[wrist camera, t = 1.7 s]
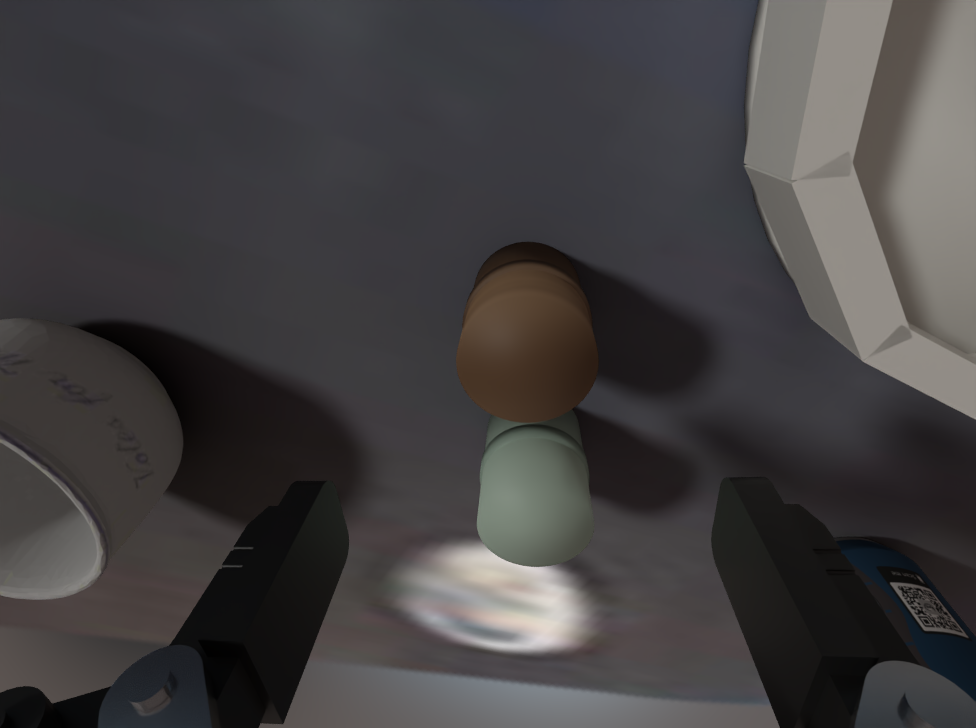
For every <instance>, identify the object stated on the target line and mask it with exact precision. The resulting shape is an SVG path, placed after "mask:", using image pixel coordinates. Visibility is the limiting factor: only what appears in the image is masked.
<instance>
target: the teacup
mask: <svg viewBox="0 0 976 728" xmlns="http://www.w3.org/2000/svg"><path fill="white" fill-rule="evenodd" d="M182 451H183V433H182V428H181V423H180V419H179V417H178V414H177V411H176V409H175V407H174V405H173V403H172V401H171V400H170V398H169V396H168V394H167V392H166V390H165V388H164V387H163V385H162V384H161V382H160V381H159V379H158V378H157V377H156V376H155V375H154V374H153V372H152V371H151V370H150V369H149V368H148V367H147V366H146V365H145V364H143V363H142V362H141V361H140V360H139V359H137V358H136V357H135V356H134V355H132V354H131V353H129V352H128V351H126V350H125V349H123V348H122V347H120V346H118V345H116V344H114V343H112V342H110V341H108V340H106V339H103V338H101V337H98V336H96V335H93V334H91V333H88V332H86V331H83V330H81V329H79V328H75V327H72V326H69V325H65V324H62V323H57V322H52V321H48V320H40V319H27V318H14V319H3V320H0V595H2V596H6V597H12V598H19V599H35V600H44V599H56V598H62V597H65V596H69V595H73V594H76V593H78V592H80V591H82V590H84V589H86V588H88V587H89V586H91V585H92V584H93V583H94V582H95V581H96V580H97V579H98V578H99V577H100V576H101V575H102V574H103V572H104V570H105V569H106V567H107V565H108V562H109V560H110V559H111V558H112V557H113V555H114V554H115V553H116V552H117V551H118V550H119V548H120V547H121V546H122V545H123V544H124V543H125V541H126V540H127V539H128V538H129V537H130V535H131V534H132V533H133V532H134V531H135V529H136V528H137V527H138V526H139V525H140V523H141V522H142V521H143V520H144V518H145V517H146V516H147V515H148V513H149V512H150V511H151V510H152V508H153V507H154V506H155V504H156V503H157V502H158V500H159V499H160V498H161V496H162V495H163V493H164V492H165V491H166V489H167V488H168V486H169V485H170V483H171V481H172V479H173V478H174V476H175V474H176V472H177V469H178V467H179V464H180V461H181V457H182Z"/></svg>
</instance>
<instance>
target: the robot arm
mask: <svg viewBox="0 0 976 728" xmlns="http://www.w3.org/2000/svg"><path fill="white" fill-rule="evenodd" d="M711 541H712V551H713V556H714V560H715V564H716V567H717V569H718V572H719V574H720V577H721V579H722V582H723V584H724V587H725V590H726V592H727V595H728V597H729V600H730V602H731V605H732V607H733V610H734V612H735V615H736V617H737V620H738V622H739V625H740V628H741V630H742V633H743V635H744V638H745V640H746V643H747V645H748V648H749V650H750V653H751V655H752V658H753V660H754V663H755V666H756V668H757V671H758V673H759V676H760V678H761V681H762V683H763V686H764V688H765V691H766V693H767V696H768V698H769V701H770V704H771V706H772V709H773V711H774V714H775V716H776V719H777V721H778V724H779V726H780V728H976V702H975V701H974V700H973V699H972V698H971V697H970V696H969V695H968V694H967V693H966V692H964V691H963V690H962V689H961V688H959V687H958V686H957V685H955V684H954V683H952V682H951V681H949V680H948V679H946V678H945V677H943V676H941V675H939V674H938V673H936V672H934V671H932V670H929V669H927V668H925V667H922V666H921V665H920V664H919V662H918V661H917V660H916V658H915V657H914V656H913V654H912V653H911V651H910V650H909V648H908V647H907V645H906V644H905V642H904V641H903V639H902V638H901V637H900V635H899V634H898V632H897V631H896V629H895V628H894V626H893V625H892V623H891V622H890V620H889V619H888V617H887V616H886V614H885V613H884V612H883V610H882V609H881V607H880V606H879V604H878V603H877V601H876V600H875V598H874V597H873V595H872V594H871V592H870V591H869V590H868V588H867V587H866V585H865V584H864V582H863V581H862V579H861V578H860V576H859V575H856V574H855V569H854V567H853V566H852V565H851V563H850V562H849V560H848V559H847V557H846V556H845V554H842V553H841V548H840V547H839V545H838V544H837V542H836V541H835V540H834V538H833V537H832V535H831V534H830V532H829V531H828V529H827V528H826V526H825V525H824V524H823V523H822V522H820V521H819V520H818V519H817V518H815V517H814V516H813V515H812V514H810V513H809V512H808V511H807V510H805V509H804V508H803V507H802V506H800V505H799V504H784V503H783V501H782V499H781V498H780V496H779V494H778V493H777V491H776V490H775V488H774V486H773V485H772V483H771V482H770V481H769V480H768V479H767V478H765V477H734V478H724V479H723V480H722V482H721V485H720V491H719V496H718V501H717V507H716V512H715V518H714V523H713V528H712V537H711ZM348 549H349V535H348V530H347V526H346V523H345V519H344V516H343V512H342V509H341V505H340V502H339V498H338V495H337V491H336V488H335V485H334V484H333V482H331V481H296V482H294V483H293V484H292V485H291V486H290V487H289V489H288V491H287V492H286V494H285V496H284V497H283V499H282V501H281V502H280V504H279V506H269V507H268V508H266V509H265V510H264V511H263V512H262V513H261V514H259V515H258V516H257V517H256V518H255V519H254V520H253V521H251V522H250V523H249V524H248V525H247V527H246V528H245V530H244V531H243V533H242V534H241V536H240V538H239V539H238V541H237V542H236V544H235V545H234V550H233V551H231V552H230V553H229V555H228V556H227V558H226V559H225V561H224V562H223V564H222V569H219V570H218V572H217V573H216V575H215V576H214V578H213V579H212V581H211V583H210V584H209V586H208V587H207V589H206V590H205V592H204V593H203V595H202V597H201V598H200V600H199V601H198V603H197V604H196V606H195V607H194V609H193V610H192V612H191V614H190V615H189V617H188V618H187V620H186V621H185V623H184V624H183V626H182V628H181V629H180V631H179V632H178V634H177V635H176V637H175V638H174V640H173V641H172V643H171V644H170V645H169V646H167V647H164V648H160V649H158V650H156V651H154V652H151V653H150V654H147V655H146V656H144V657H142V658H141V659H139V660H138V661H137V662H135V663H134V664H132V665H131V666H130V667H129V668H128V669H126V670H125V671H124V672H123V673H122V674H121V675H120V676H119V677H118V679H117V680H116V681H115V682H114V684H113V685H112V686H111V687H108V688H104V689H101V690H98V691H94V692H91V693H87V694H84V695H81V696H77V697H74V698H70V699H67V700H64V701H60V702H57V703H53V704H52V703H51V702H50V700H49V699H48V698H47V697H46V696H45V695H44V694H43V692H42V691H40V690H39V689H38V688H35V687H29V686H24V687H17V688H13V689H9V690H6V691H4V692H1V693H0V728H259V725H260V723H269V724H283V723H284V721H285V718H286V716H287V713H288V710H289V708H290V705H291V703H292V700H293V697H294V695H295V692H296V690H297V687H298V684H299V682H300V679H301V677H302V674H303V672H304V669H305V666H306V664H307V661H308V659H309V656H310V653H311V651H312V648H313V646H314V643H315V640H316V638H317V635H318V633H319V630H320V627H321V625H322V622H323V620H324V617H325V615H326V612H327V609H328V607H329V604H330V602H331V599H332V596H333V594H334V591H335V589H336V586H337V583H338V581H339V578H340V576H341V573H342V570H343V568H344V565H345V563H346V559H347V555H348Z"/></svg>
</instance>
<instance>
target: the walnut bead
mask: <svg viewBox="0 0 976 728" xmlns="http://www.w3.org/2000/svg"><path fill="white" fill-rule="evenodd" d="M462 327H463V330H462V334H461V338H460V342H459V346H458V350H457V357H456V364H457V372H458V376H459V379H460V382H461V384H462V386H463V388H464V390H465V391H466V393H467V394H468V395H469V397H470V398H471V399H472V400H473V401H474V402H475V403H476V404H477V405H478V406H480V407H481V408H482V409H484V410H485V411H487V412H488V413H490V414H492V415H494V416H496V417H499V418H502V419H505V420H509V421H513V422H520V423H534V422H542V421H547V420H550V419H553V418H556V417H559V416H561V415H563V414H565V413H567V412H568V411H570V410H571V409H573V408H574V407H575V406H577V405H578V404H579V403H580V402H581V401H582V400H583V399H584V398H585V397H586V395H587V394H588V393H589V391H590V389H591V388H592V386H593V384H594V381H595V379H596V376H597V372H598V364H599V357H598V350H597V345H596V341H595V337H594V334H593V330H592V316H591V311H590V307H589V304H588V301H587V298H586V295H585V293H584V291H583V289H582V288H581V285H580V281H579V278H578V275H577V272H576V270H575V268H574V266H573V265H572V264H571V262H570V261H569V260H568V259H567V258H566V257H565V256H564V255H563V254H562V253H561V252H559V251H558V250H556V249H554V248H553V247H550V246H548V245H545V244H541V243H536V242H520V243H514V244H511V245H508V246H505V247H503V248H501V249H500V250H498V251H496V252H495V253H494V254H492V255H491V256H490V257H489V258H488V259H487V260H486V261H485V263H484V264H483V265H482V267H481V269H480V270H479V272H478V275H477V277H476V281H475V285H474V288H473V290H472V292H471V293H470V296H469V298H468V301H467V304H466V308H465V311H464V316H463V324H462Z"/></svg>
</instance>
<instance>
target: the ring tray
mask: <svg viewBox="0 0 976 728" xmlns="http://www.w3.org/2000/svg"><path fill="white" fill-rule="evenodd" d="M744 118H745V142H746V152H745V158H744V163H745V164H746V165H745V166H744V167H745V169H746V171H747V174H748V176H749V178H750V181H751V186H752V191H753V197H754V201H755V204H756V207H757V210H758V213H759V216H760V219H761V222H762V225H763V227H764V230H765V233H766V236H767V239H768V241H769V243H770V245H771V246H772V248H773V250H774V252H775V254H776V256H777V257H778V259H779V261H780V263H781V265H782V267H783V268H784V270H785V272H786V273H787V275H788V276H789V277H790V278H791V280H792V281H793V282H794V283H795V285H796V287H797V289H798V291H799V294H800V296H801V298H802V301H803V303H804V305H805V308H806V310H807V312H808V315H809V317H810V318H811V319H812V320H814V321H815V322H816V323H817V324H818V325H820V326H821V327H822V328H823V329H824V330H826V331H827V332H828V333H829V334H830V335H832V336H833V337H834V338H835V339H836V340H838V341H839V342H840V343H841V344H843V345H844V346H845V347H846V348H847V349H849V350H850V351H851V352H852V353H853V354H855V355H856V356H857V357H858V358H859V359H861V360H862V361H863V362H865V363H867V364H869V365H870V366H872V367H874V368H876V369H878V370H880V371H882V372H884V373H886V374H888V375H890V376H892V377H894V378H896V379H898V380H900V381H902V382H904V383H906V384H907V385H909V386H911V387H913V388H915V389H917V390H919V391H921V392H923V393H925V394H927V395H929V396H931V397H933V398H935V399H937V400H939V401H941V402H942V403H944V404H946V405H948V406H950V407H952V408H954V409H956V410H958V411H960V412H962V413H964V414H966V415H968V416H970V417H972V418H974V419H976V0H759V1H758V6H757V11H756V16H755V21H754V26H753V31H752V36H751V41H750V46H749V53H748V65H747V77H746V89H745V100H744Z"/></svg>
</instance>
